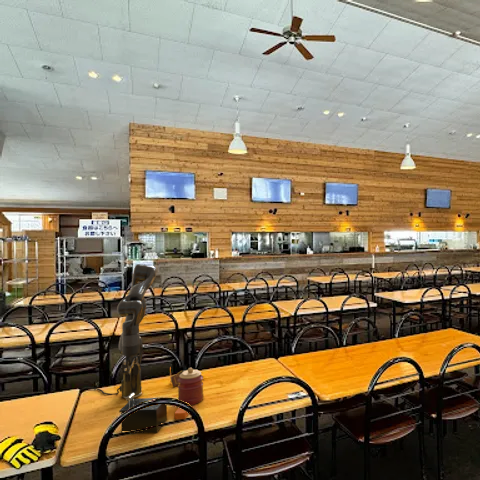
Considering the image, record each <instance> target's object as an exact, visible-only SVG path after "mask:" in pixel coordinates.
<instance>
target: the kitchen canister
mask: <svg viewBox="0 0 480 480" xmlns="http://www.w3.org/2000/svg"><path fill="white" fill-rule="evenodd" d="M186 370H187V371H186ZM186 370H183V371H182V372H183V373H182V372H180V373H181V374H180V373H179V374H180V375H179V377H180V378H179V379H178V382H179V385H178V386H177V395H178V396H177V400H178V399H179V400H182V401H184V402H187V403H189V404H190V405H189V406H193V405H196V404H199V403H201V402H202V401H203V399H204V381H203V380H202V379H204V376H203V375H202V372H201V371H200V370H198V369H194V368H192V367H188V369H186Z"/></svg>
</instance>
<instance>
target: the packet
mask: <svg viewBox="0 0 480 480" xmlns="http://www.w3.org/2000/svg"><path fill="white" fill-rule="evenodd" d="M188 415H189V414H188V413H187V412H186V411H184V410H182V409H180V408H179V407H178V408H177V409H176V411H175V412H174V420H186V419H187V417H188Z"/></svg>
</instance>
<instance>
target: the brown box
mask: <svg viewBox="0 0 480 480" xmlns="http://www.w3.org/2000/svg"><path fill="white" fill-rule="evenodd" d="M171 369H172V368H171V366H170V367H169V371H171ZM187 370H188V369H186V370H185V371H187ZM183 372H184V371H183V370H180V371H179V372H177V373H176V374H174V375H172V374H171V373H169V374H168V376H169V379H170V384H171V385H172V387H178V385H179V382H178V379H179V378H180V377H179V375H180V374H181V373H183ZM202 381H204V378H203V379H202Z"/></svg>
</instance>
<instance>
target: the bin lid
mask: <svg viewBox="0 0 480 480" xmlns="http://www.w3.org/2000/svg"><path fill="white" fill-rule="evenodd" d="M134 396H135V393H131V394H130V395H129V396H128V397H127V398H126V399H125V401H126V402H127V403H126V404H124V406H122V407H121V408H120V409H119V410H118V412H119V413H121V412H125V411H127V410H128V409H129V408H131V407H133V406H135V405H137V404H139V403H141V402H144V401H148V400H152V399H157V398H158V397H144V398H141V397H140V398H139V397H137V398H134ZM161 405H162V404H158V405H153V406H149V407H146V408H143V409H141V410H138V411H137V412H145V411H157V410H158V409H159V407H160V406H161Z"/></svg>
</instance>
